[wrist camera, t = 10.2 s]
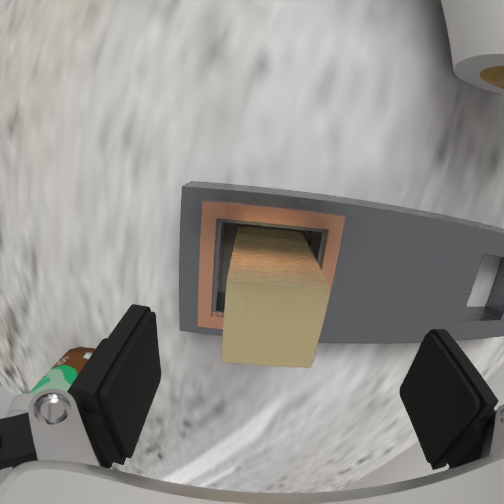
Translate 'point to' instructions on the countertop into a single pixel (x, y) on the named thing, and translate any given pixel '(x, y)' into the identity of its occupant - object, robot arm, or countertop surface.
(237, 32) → the countertop surface
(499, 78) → the toilet paper
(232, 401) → the countertop surface
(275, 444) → the countertop surface
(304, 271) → the tan wooden block
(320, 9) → the countertop surface
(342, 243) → the rail
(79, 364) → the food container
